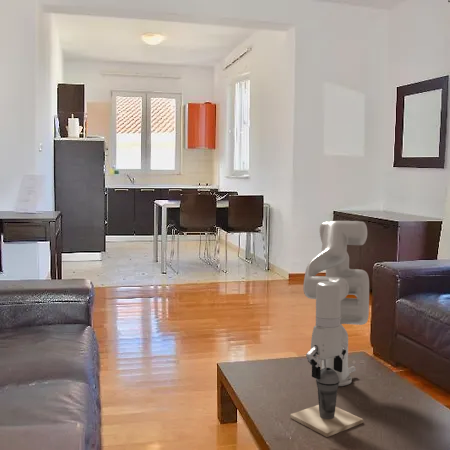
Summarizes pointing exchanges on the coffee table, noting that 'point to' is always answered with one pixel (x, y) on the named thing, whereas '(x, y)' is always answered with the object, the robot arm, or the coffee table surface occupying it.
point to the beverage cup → (327, 392)
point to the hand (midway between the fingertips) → (327, 374)
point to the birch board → (326, 420)
